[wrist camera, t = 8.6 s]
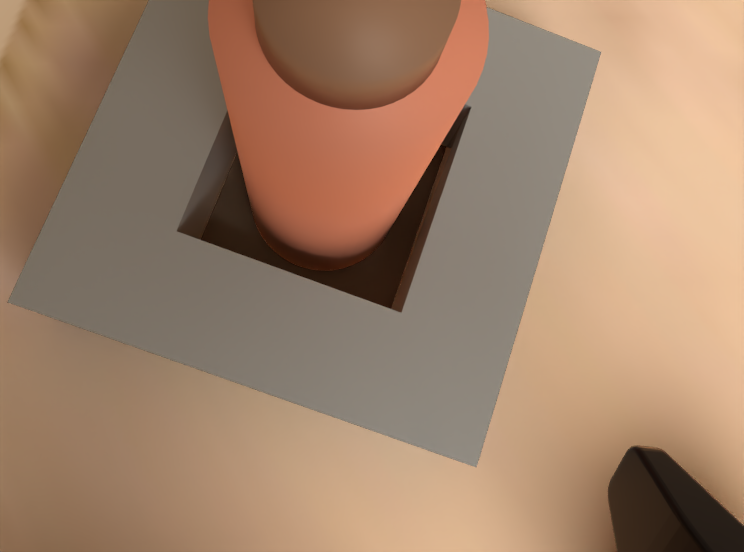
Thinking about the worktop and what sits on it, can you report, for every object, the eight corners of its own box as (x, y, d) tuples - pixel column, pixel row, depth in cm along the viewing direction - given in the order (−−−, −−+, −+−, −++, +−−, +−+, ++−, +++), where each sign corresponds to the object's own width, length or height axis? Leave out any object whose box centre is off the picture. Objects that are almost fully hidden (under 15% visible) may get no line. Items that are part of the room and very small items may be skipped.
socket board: (448, 455, 19) (476, 467, 16) (53, 315, 18) (7, 302, 16) (559, 97, 21) (601, 52, 19) (212, -37, 21) (198, -106, 18)
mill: (407, 257, 20) (538, 106, 9) (263, 281, 19) (225, 148, 9) (380, 122, 21) (474, -167, 10) (240, 142, 20) (177, -146, 9)
